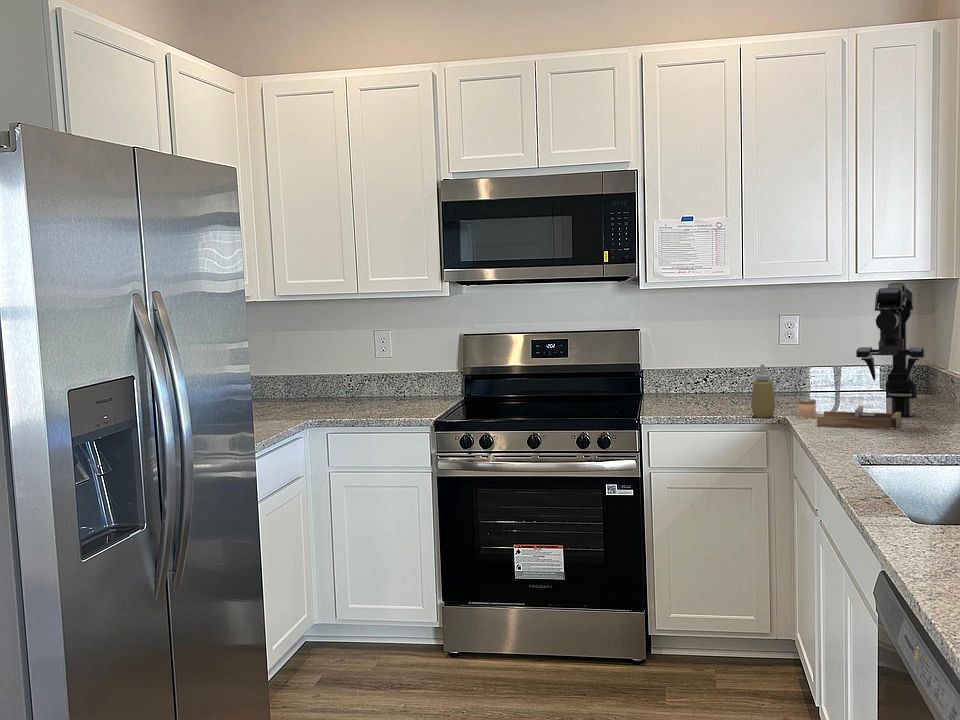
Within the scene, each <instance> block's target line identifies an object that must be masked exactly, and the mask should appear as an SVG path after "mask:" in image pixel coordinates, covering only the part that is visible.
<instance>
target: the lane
mask: <svg viewBox="0 0 960 720" xmlns="http://www.w3.org/2000/svg"><path fill="white" fill-rule="evenodd" d="M863 414H875V418H855V411H827V410H825V411H823V416H818V415H817V416H816V427H819V426H839V427H838V428H846V427H861V428H860V429H874V428H895V429H894V430H897V429H898V428H899V427H900V425H901V424H902V417H901V412H895V413H892V412H864V411H863ZM900 423H901V424H900ZM899 424H900V425H899ZM897 427H898V428H897ZM896 428H897V429H896Z"/></svg>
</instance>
